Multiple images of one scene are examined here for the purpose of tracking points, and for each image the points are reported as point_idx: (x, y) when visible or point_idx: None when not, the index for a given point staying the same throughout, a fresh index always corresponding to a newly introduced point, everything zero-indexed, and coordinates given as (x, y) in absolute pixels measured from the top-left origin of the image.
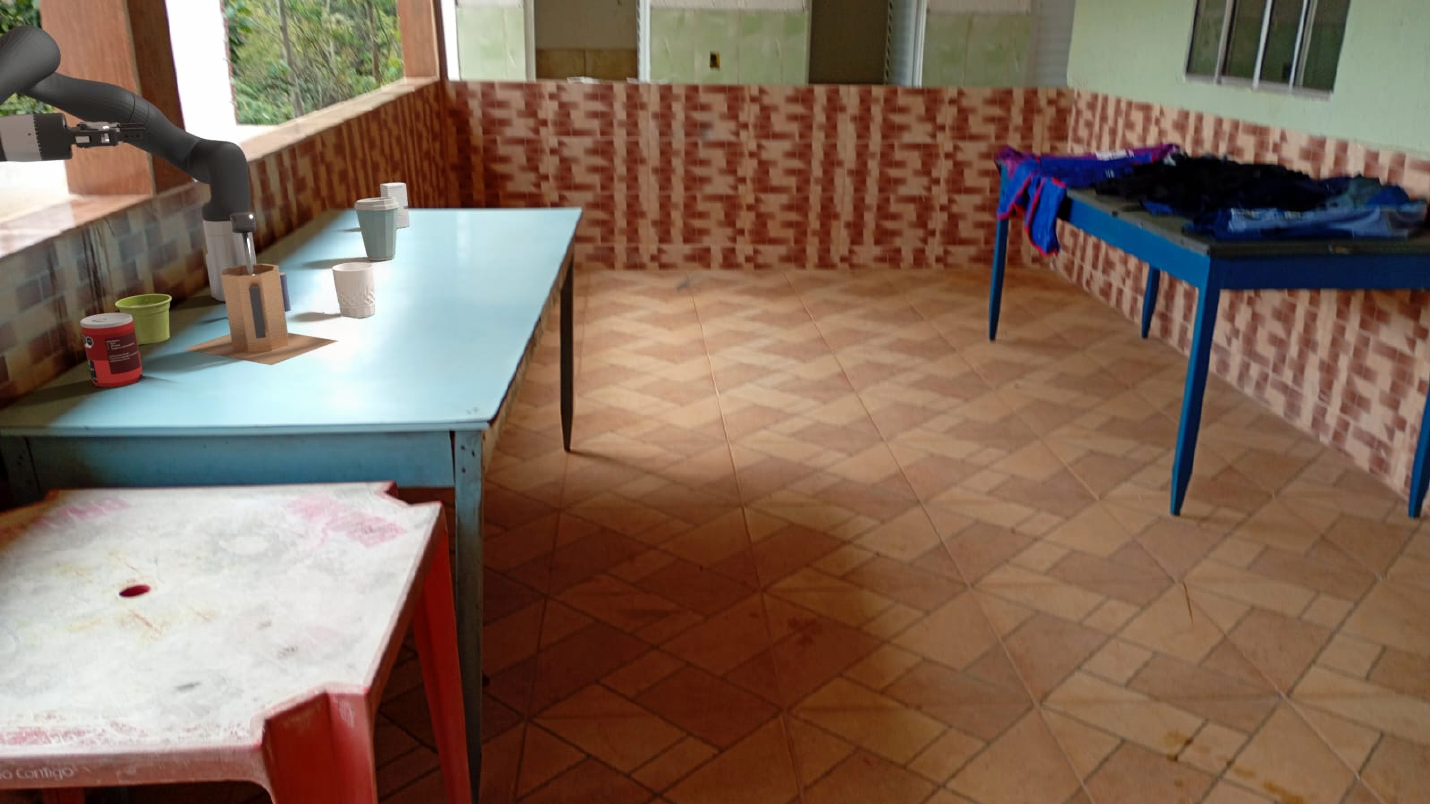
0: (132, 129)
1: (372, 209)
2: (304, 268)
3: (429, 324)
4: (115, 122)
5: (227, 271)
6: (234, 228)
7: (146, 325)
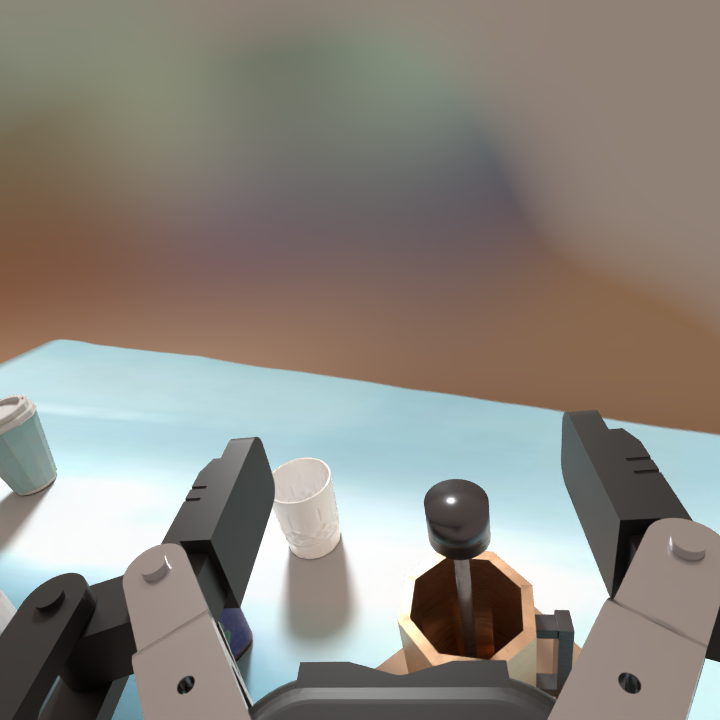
0: (620, 461)
1: (17, 424)
2: None
3: (424, 471)
4: (152, 562)
5: (446, 656)
6: (479, 546)
7: None
